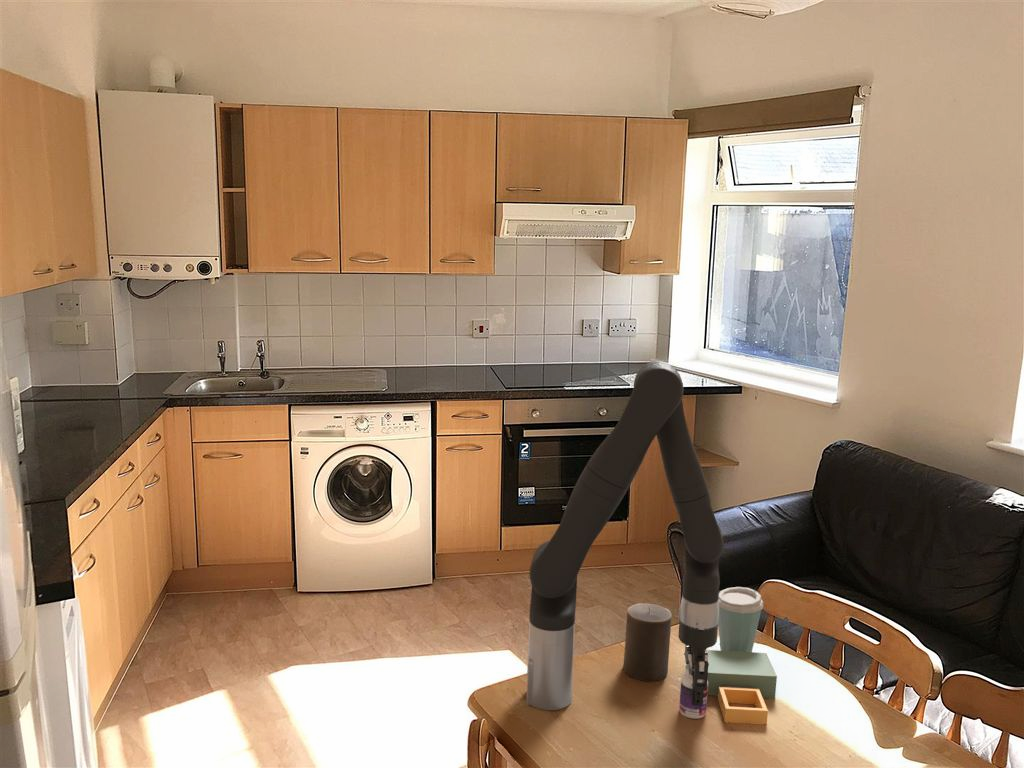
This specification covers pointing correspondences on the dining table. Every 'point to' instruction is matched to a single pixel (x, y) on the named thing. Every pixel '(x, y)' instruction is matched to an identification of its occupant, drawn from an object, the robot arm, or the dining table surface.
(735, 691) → the green slab
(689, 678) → the pill bottle
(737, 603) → the disposable coffee cup
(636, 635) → the pillar candle
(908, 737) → the dining table surface
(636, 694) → the dining table surface
